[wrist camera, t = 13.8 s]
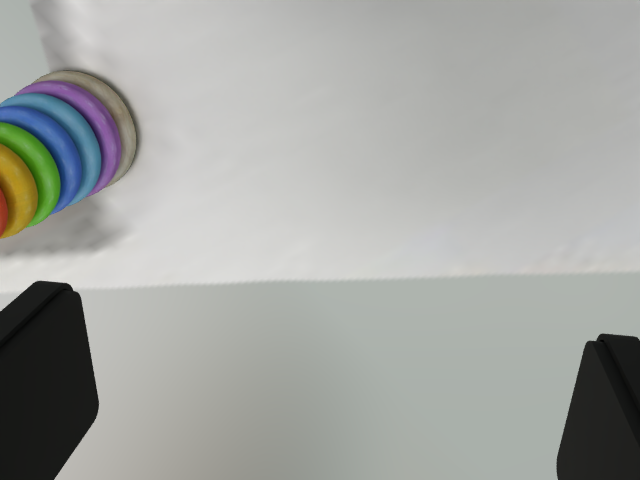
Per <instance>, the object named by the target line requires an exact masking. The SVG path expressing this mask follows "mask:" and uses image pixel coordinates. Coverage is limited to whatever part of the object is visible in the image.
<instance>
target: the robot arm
mask: <svg viewBox="0 0 640 480" xmlns="http://www.w3.org/2000/svg"><path fill="white" fill-rule="evenodd" d="M98 408H99V400H98V394H97V389H96V382H95V377H94V371H93V365H92V359H91V353H90V347H89V342H88V336H87V330H86V324H85V319H84V312H83V307H82V301H81V297H80V295H79V293H78V292H75V291H73V288H72V287H71V285H69V284H67V283H59V282H49V281H37V282H35V283H33V284H32V285H31V286H30V287H28V288H27V289H26V290H25V291H24V292H23V293H21V294H20V295H19V296H18V297H17V298H16V299H14V301H12V302H11V303H10V304H9V305H8V306H6V307H5V308H4V309H3V310H2V311H0V480H54V479H55V477H56V476H57V475H58V473H59V472H60V470H61V469H62V467H63V466H64V464H65V463H66V461H67V460H68V458H69V457H70V456H71V454H72V453H73V451H74V450H75V448H76V447H77V446H78V444H79V443H80V441H81V440H82V438H83V437H84V435H85V434H86V433H87V431H88V430H89V428H90V427H91V425H92V424H93V422H94V421H95V419H96V416H97V413H98ZM557 476H558V480H640V340H639V339H638V338H637V337H633V336H623V335H613V334H600V335H599V336H598V338H597V340H596V341H588V342H587V343H586V345H585V348H584V351H583V355H582V360H581V364H580V368H579V371H578V375H577V380H576V384H575V387H574V391H573V396H572V399H571V403H570V408H569V412H568V416H567V420H566V424H565V428H564V432H563V436H562V440H561V444H560V448H559V452H558V456H557Z"/></svg>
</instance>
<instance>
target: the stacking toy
mask: <svg viewBox="0 0 640 480" xmlns="http://www.w3.org/2000/svg"><path fill="white" fill-rule="evenodd" d="M135 150H136V133H135V128H134V124H133V121H132V118H131V116H130V114H129V112H128V110H127V108H126V106H125V104H124V103H123V102H122V100H121V99H120V98H119V96H118V95H117V94H116V93H115V92H114V91H113V90H112V89H111V88H110V87H109V86H107V85H106V84H105V83H103V82H101V81H100V80H98V79H96V78H94V77H92V76H90V75H87V74H84V73H80V72H75V71H58V72H53V73H49V74H47V75H44V76H42V77H40V78H39V79H37V80H36V81H34V82H33V83H32V84H31V85H28V86H26V87H25V88H23V89H22V90H20V91H19V92H18V93H17V94H16V95H15V96H13V97H11V98H8V99H7V100H5V101H3V102H2V103H1V104H0V239H1V238H6V237H10V236H12V235H15V234H17V233H19V232H20V231H22V230H23V229H24V228H27V227H31V226H34V225H36V224H38V223H40V222H41V221H43V220H44V219H45V218H47V217H48V216H49V215H51V214H54V213H56V212H58V211H60V210H62V209H63V208H65V207H66V206H70V205H73V204H75V203H77V202H79V201H80V200H82V199H83V198H84V197H87V196H90V195H93V194H95V193H97V192H99V191H100V190H102V189H103V188H105V187H108V186H110V185H112V184H114V183H115V182H116V181H118V180H119V179H120V178H121V177H122V176H123V175H124V174H125V173H126V172H127V170H128V169H129V167H130V165H131V163H132V161H133V158H134V155H135Z"/></svg>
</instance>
